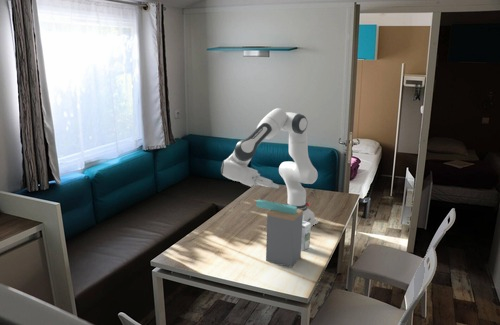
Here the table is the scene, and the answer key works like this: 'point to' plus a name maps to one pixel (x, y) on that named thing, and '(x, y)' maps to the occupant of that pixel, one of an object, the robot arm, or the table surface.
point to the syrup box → (305, 235)
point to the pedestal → (284, 237)
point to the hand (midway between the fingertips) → (277, 186)
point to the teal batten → (276, 206)
